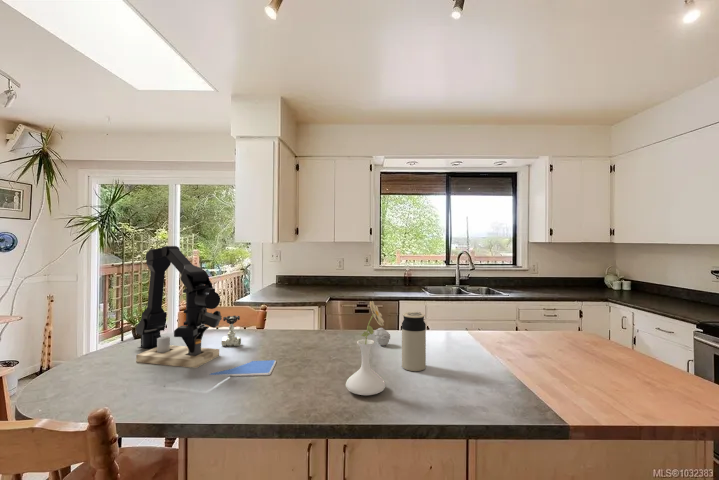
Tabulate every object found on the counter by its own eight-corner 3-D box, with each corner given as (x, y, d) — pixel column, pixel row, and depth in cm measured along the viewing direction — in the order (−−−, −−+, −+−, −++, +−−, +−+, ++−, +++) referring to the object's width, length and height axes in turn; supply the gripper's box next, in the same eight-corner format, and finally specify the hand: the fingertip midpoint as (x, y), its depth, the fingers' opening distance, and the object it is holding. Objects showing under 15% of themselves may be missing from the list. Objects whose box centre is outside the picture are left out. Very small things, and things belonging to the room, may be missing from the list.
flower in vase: (373, 403, 87) (373, 307, 87) (337, 393, 93) (337, 303, 93) (395, 385, 98) (395, 300, 98) (362, 377, 104) (362, 297, 104)
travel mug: (430, 367, 113) (430, 313, 113) (417, 374, 107) (417, 317, 107) (410, 361, 118) (410, 310, 118) (397, 367, 112) (397, 314, 113)
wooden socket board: (136, 363, 116) (136, 354, 116) (163, 352, 127) (163, 344, 127) (196, 369, 110) (196, 360, 110) (219, 357, 122) (219, 349, 122)
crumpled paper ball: (379, 342, 142) (379, 325, 142) (393, 344, 137) (393, 327, 138) (371, 345, 137) (371, 328, 137) (385, 348, 133) (385, 331, 133)
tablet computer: (206, 379, 104) (206, 375, 104) (220, 364, 116) (220, 360, 116) (269, 377, 105) (269, 373, 105) (276, 363, 118) (276, 359, 118)
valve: (236, 349, 131) (236, 319, 131) (219, 349, 131) (219, 319, 131) (242, 344, 138) (242, 315, 138) (226, 344, 138) (226, 315, 138)
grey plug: (154, 358, 119) (154, 339, 119) (163, 355, 123) (163, 336, 123) (163, 359, 118) (163, 340, 118) (172, 355, 122) (172, 336, 122)
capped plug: (185, 361, 116) (185, 341, 116) (193, 357, 120) (193, 338, 120) (195, 362, 115) (195, 342, 115) (203, 358, 119) (203, 339, 119)
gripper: (208, 311, 109) (208, 359, 109) (227, 301, 127) (226, 342, 127) (173, 311, 108) (172, 359, 108) (197, 301, 127) (196, 342, 127)
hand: (194, 350), depth 117 cm, fingers closed on capped plug, 4 cm apart
